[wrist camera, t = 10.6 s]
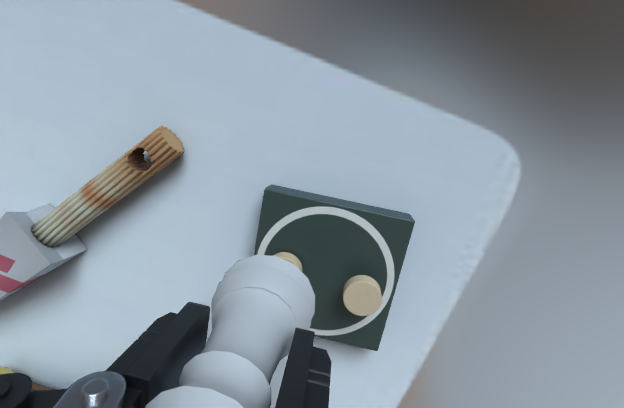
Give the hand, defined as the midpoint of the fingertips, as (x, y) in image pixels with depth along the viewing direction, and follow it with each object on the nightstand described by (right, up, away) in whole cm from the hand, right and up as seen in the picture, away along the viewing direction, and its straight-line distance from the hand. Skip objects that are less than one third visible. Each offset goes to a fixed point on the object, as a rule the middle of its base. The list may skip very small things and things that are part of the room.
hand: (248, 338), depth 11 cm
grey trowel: (-14, +4, +10) cm, 17 cm away
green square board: (+3, +1, +8) cm, 9 cm away
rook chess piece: (0, +1, +3) cm, 3 cm away
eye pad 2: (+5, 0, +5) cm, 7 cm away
